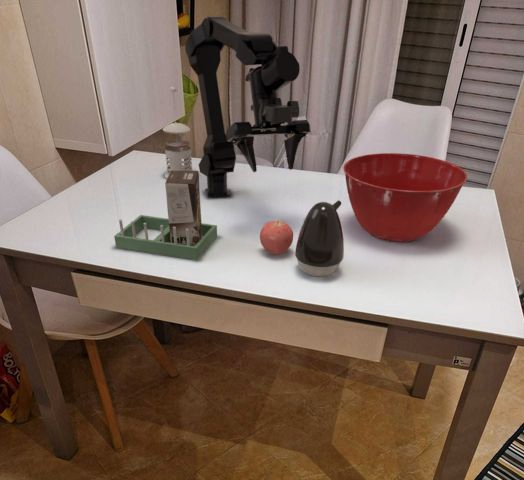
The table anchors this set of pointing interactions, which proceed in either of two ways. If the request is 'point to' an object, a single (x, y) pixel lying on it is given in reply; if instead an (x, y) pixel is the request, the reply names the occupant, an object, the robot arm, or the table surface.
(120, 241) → the dish rack
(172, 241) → the coffee box
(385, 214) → the mixing bowl
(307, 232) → the pump dispenser
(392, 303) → the table surface
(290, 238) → the apple
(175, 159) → the french press
